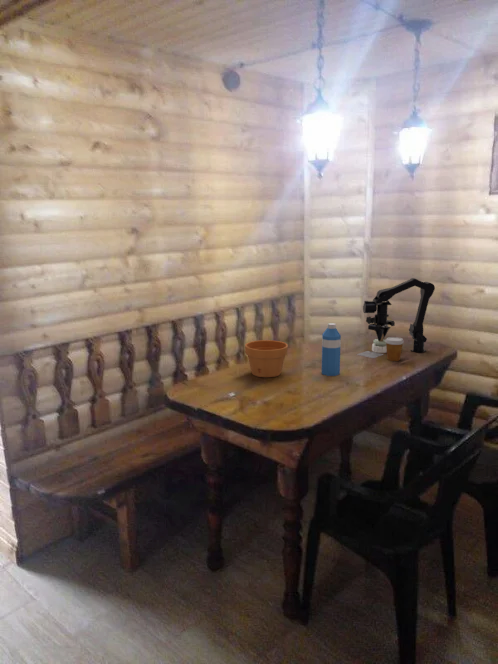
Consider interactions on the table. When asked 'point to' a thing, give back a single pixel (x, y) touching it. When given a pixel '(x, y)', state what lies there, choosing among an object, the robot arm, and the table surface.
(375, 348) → the bowl
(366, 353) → the coaster
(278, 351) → the flower pot
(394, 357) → the disposable coffee cup
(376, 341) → the lid
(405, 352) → the table surface
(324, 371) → the water bottle
